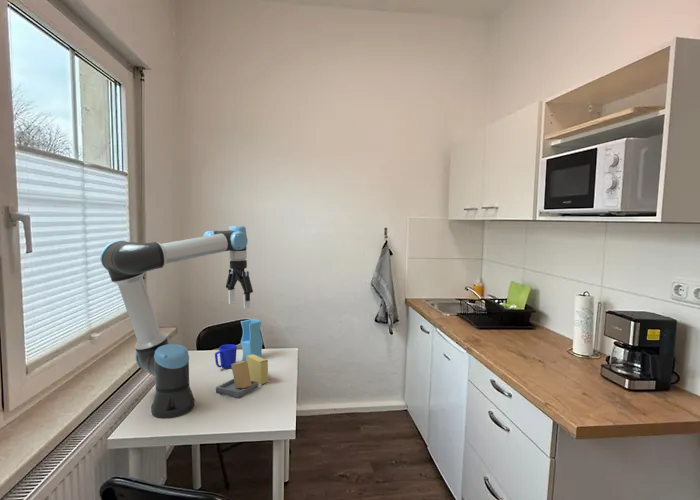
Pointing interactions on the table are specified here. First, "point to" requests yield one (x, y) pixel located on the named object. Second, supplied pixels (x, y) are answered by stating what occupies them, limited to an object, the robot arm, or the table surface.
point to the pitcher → (251, 338)
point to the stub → (241, 374)
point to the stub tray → (235, 389)
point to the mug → (226, 355)
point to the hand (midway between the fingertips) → (239, 305)
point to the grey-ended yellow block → (258, 369)
